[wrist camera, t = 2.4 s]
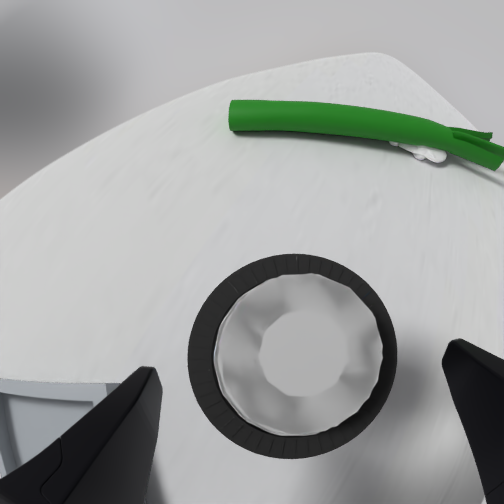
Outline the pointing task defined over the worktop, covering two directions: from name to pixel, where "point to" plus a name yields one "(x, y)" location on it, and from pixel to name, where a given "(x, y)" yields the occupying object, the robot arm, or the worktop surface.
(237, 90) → the worktop surface
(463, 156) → the green onion
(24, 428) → the tray
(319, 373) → the push button
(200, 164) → the worktop surface
